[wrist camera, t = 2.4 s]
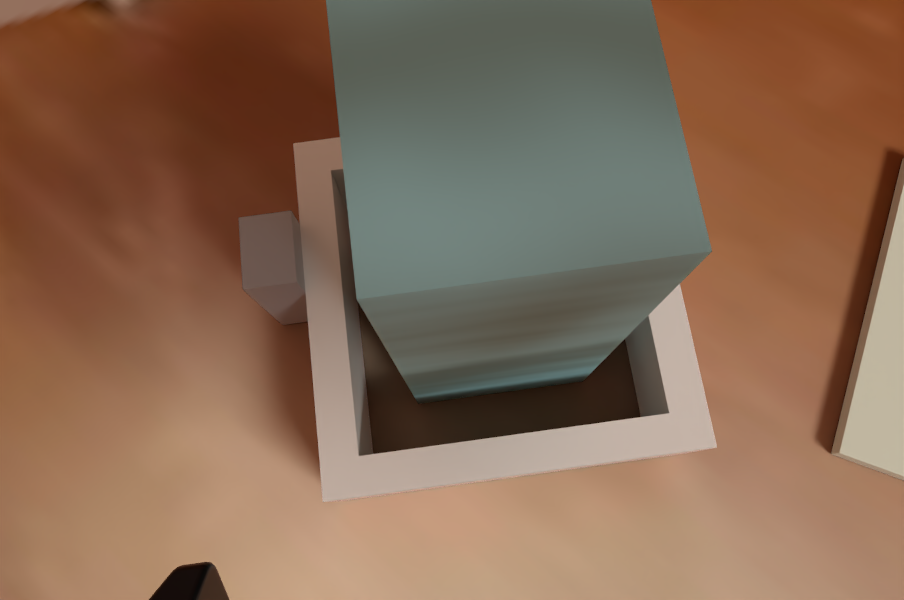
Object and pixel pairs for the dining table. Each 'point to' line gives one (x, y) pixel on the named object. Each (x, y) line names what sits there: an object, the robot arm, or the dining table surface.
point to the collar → (343, 374)
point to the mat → (879, 362)
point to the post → (509, 184)
